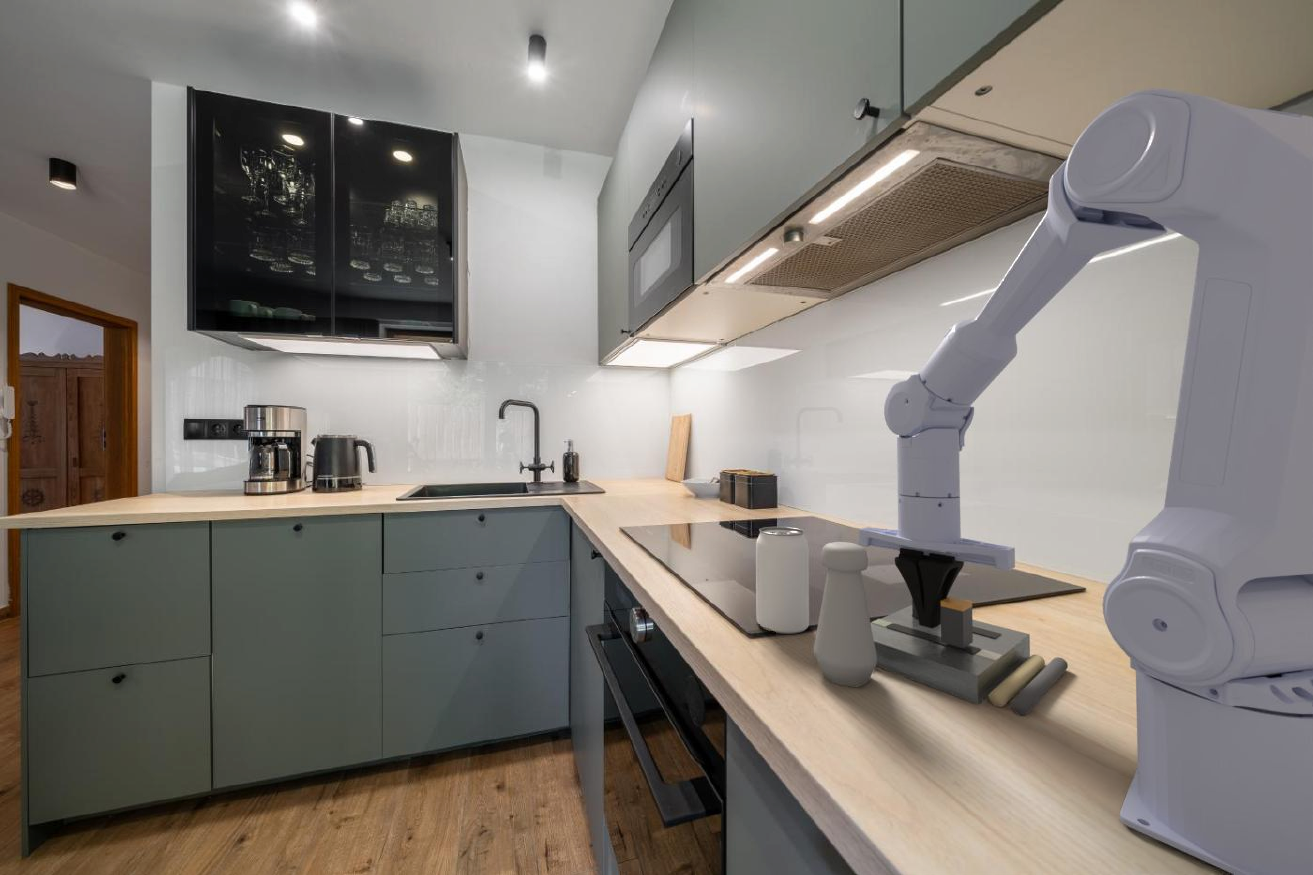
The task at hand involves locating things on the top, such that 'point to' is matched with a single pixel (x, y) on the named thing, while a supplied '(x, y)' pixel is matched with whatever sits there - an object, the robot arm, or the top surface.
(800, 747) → the top surface
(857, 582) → the salt shaker
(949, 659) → the dual slot slider
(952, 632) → the toggle
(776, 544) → the can
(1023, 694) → the pair of rollers
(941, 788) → the top surface
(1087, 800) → the top surface
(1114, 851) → the top surface
